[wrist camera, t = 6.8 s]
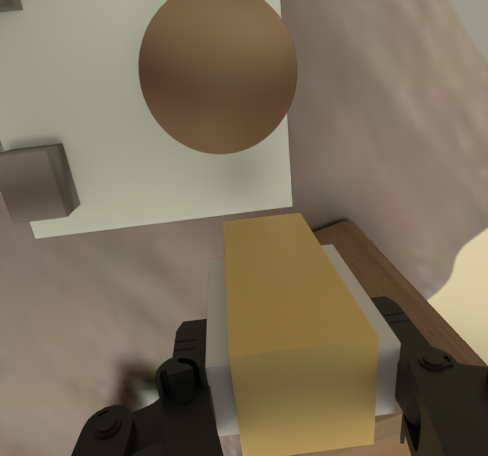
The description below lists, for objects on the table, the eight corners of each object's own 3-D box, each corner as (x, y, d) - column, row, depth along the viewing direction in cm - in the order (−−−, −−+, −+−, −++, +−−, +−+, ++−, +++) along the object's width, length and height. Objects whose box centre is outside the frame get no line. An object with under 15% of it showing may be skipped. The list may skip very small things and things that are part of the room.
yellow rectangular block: (222, 221, 19) (228, 357, 10) (300, 212, 19) (379, 338, 10) (231, 288, 20) (243, 461, 11) (302, 279, 21) (373, 444, 11)
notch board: (-69, -76, 23) (-108, -96, 20) (-4, -82, 23) (-34, -104, 20) (31, 210, 30) (13, 223, 28) (80, 204, 30) (67, 217, 28)
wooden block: (375, 298, 38) (529, 513, 19) (283, 332, 38) (345, 569, 20) (350, 213, 34) (513, 379, 15) (249, 252, 35) (287, 454, 16)
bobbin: (161, 28, 26) (121, -8, 15) (260, 16, 26) (292, -27, 15) (178, 129, 29) (155, 162, 18) (268, 118, 29) (300, 145, 18)
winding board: (-81, -117, 23) (-96, -126, 22) (267, -152, 24) (270, -163, 23) (41, 233, 32) (35, 238, 31) (289, 201, 33) (292, 206, 32)
